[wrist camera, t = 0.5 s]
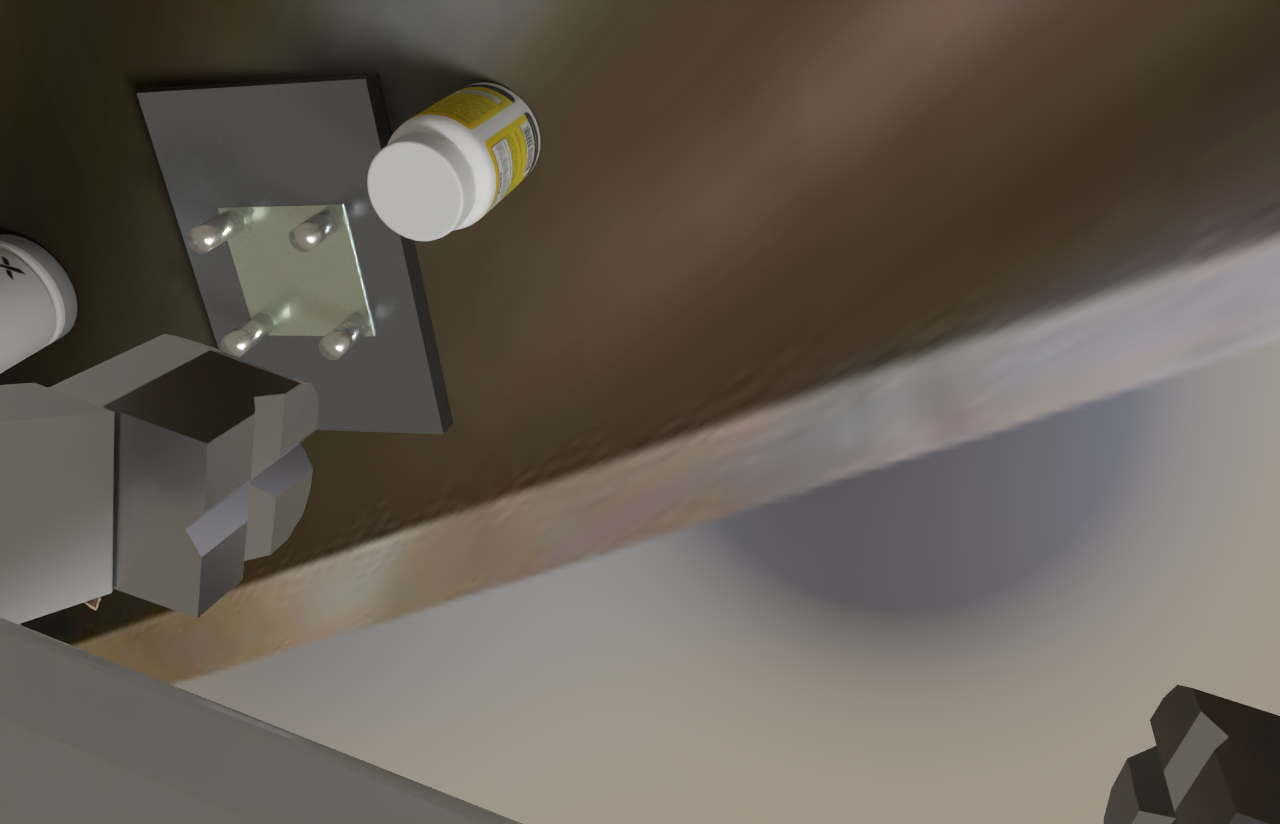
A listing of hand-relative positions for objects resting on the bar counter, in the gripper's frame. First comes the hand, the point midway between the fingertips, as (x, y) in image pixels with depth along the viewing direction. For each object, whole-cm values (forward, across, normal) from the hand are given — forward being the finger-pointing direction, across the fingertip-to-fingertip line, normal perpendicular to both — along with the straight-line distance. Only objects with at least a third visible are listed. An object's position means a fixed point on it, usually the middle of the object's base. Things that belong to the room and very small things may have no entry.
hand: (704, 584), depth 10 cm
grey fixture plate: (+38, +25, +15) cm, 48 cm away
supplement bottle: (+37, +16, +6) cm, 41 cm away
